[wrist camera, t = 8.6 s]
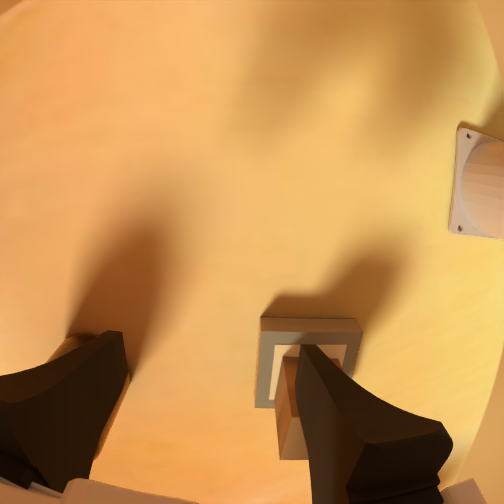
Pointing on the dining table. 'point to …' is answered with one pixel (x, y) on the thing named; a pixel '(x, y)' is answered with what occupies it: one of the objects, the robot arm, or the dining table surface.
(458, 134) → the robot arm
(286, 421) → the walnut block
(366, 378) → the dining table surface
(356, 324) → the base tile
